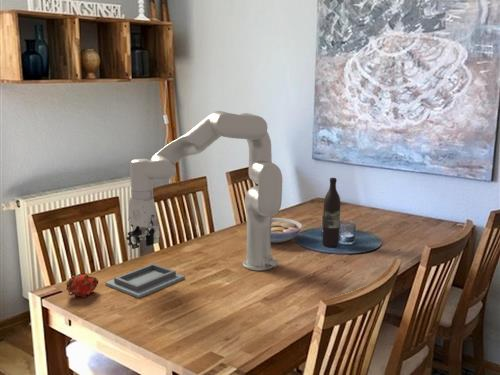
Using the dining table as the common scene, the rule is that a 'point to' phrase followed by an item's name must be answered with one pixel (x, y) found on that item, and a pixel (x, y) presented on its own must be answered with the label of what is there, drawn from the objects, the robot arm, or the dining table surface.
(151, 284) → the rimmed tray
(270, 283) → the dining table surface
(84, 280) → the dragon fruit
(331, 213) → the wine bottle
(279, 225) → the ramen bowl
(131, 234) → the valve
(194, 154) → the robot arm
